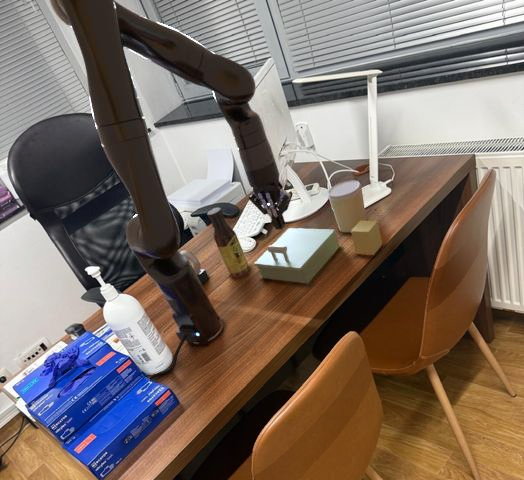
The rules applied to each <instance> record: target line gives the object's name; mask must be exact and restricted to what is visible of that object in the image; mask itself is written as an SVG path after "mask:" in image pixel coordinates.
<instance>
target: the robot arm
mask: <svg viewBox="0 0 524 480" xmlns="http://www.w3.org/2000/svg"><path fill="white" fill-rule="evenodd" d="M49 2H50V5H51V8H52V10H53V12H54V13H55V14H56V16H57V17H58V18H59V20H60V21H61V22H62V23H64V24H65V25H66V26H67V27H70V28H71V29H72V31H73V34H74V36H75V39H76V42H77V44H78V47H79V49H80V52H81V53H80V54H81V56H82V59H83V63H84V68H85V73H86V80H87V87H88V95H89V96H88V97H89V102H90V108H91V109H90V110H91V113H92V117H93V121H94V124H95V127H96V131H97V134H98V137H99V140H100V143H101V146H102V149H103V151H104V153H105V155H106V158H107V160H108V162H109V163H110V165H111V167H112V168H113V169H114V171H115V172H116V173H115V174H117V175H118V178H119V179H120V180H121V182H122V183H123V185H124V186H125V188H126V190H127V191H128V193H129V195H130V197H131V200H132V202H133V206H134V208H135V213H136V214H135V215H134V216H133V217H131V218H130V219H129V221H128V223H127V225H126V230H125V235H126V240H127V243H128V246H129V248H130V249H131V251H132V253H133V255H134V256H135V257H136V259H137V260H138V262H139V264H140V266H141V267H142V268H143V270H144V271H145V273H146V274H147V275H148V276H149V278H150V279H151V280H152V281H153V282H154V283H155V284H156V286H157V287H158V289H159V291H160V292H161V294H162V296H164V299H165V301H166V303H167V304H168V306H169V308H170V309H171V311H172V314H171V318H172V319H173V321H174V322H175V324H176V326H177V327H178V329H177V330H176V331H175V335H176V336H177V338H178V339H179V341H180V342H179V344H178V345H177V348H176V350H175V351H174V354H173V360H172V364H171V366H170V367H168V368H166V369H164V370H162V371H158V372H159V373H157V372H156V373H157V374H154V373H152V374H153V375H152V374H151V375H150V376H149V377H148V378H149V379H150V380H151V381H152V380H153V379H154V378H155V377H158V376H163V375H165V374H168V373H170V372H171V371H173V370H174V369H175V367H176V364H177V361H178V360H177V359H178V355H179V353H180V351H181V349H182V347H183V345H184V344H185V342H187V344H189V345H199V346H200V345H201V346H207V345H208V344H209V343H210V342H212V341H213V340H215V339H216V338H218V337H219V336H220V334H221V333H222V331H223V328H224V324H223V321H222V319H221V317H220V316H219V314H218V312H217V311H216V309H215V307H214V305H213V303H212V301H211V300H210V298H209V296H208V293H207V291H206V290H205V288H204V286H203V285H202V284H201V282H200V280H199V278H198V276H197V274H196V273H195V271H194V267H193V264H192V262H191V260H189V259H187V258H186V257H184V256H183V255H182V254H181V253H180V252H181V251H179V249H180V245H181V233H180V232H181V231H180V227H179V224H178V221H177V219H176V217H175V214H174V212H173V209H172V207H171V204H170V202H169V198H168V195H167V193H166V190H165V187H164V185H163V181H162V177H161V173H160V170H159V168H158V167H159V166H158V163H157V160H156V156H155V153H154V150H153V146H152V145H153V144H152V141H151V137H150V133H149V130H148V129H149V128H148V126H147V122H146V119H145V115H144V113H143V109H142V106H141V103H140V99H139V96H138V92H137V89H136V86H135V82H134V80H133V76H132V73H131V70H130V67H129V64H128V61H127V57H126V53H125V50H124V49H126V50H129V51H130V52H132V53H135V54H137V55H138V56H141V57H142V58H144V59H146V60H148V61H150V62H152V63H154V64H155V65H157V66H159V67H161V68H162V69H165V70H166V71H168V72H170V73H171V74H173V75H175V76H177V77H179V78H180V79H182V80H184V81H185V82H187V83H190V84H191V85H193V86H196V87H201V88H205V89H208V90H210V91H211V92H212V93H213V97H214V100H215V102H216V104H217V106H218V108H219V110H220V113H221V114H222V116H223V117H224V119H225V121H226V123H227V124H228V126H229V127H230V130H231V132H232V136H233V139H234V141H235V142H234V143H235V145H236V147H237V150H238V154H239V159H240V162H241V164H242V167H243V170H244V173H245V175H246V178H247V182H248V185H249V186H250V188H252V194H251V195H250V196H248V200H249V201H250V202H251V204H253V206H255V207H256V208H257V209H258V210H259V211H260V212H261V213H262V214H263V215H264V216H265V215H268V216H269V217H270V219H271V222H272V224H273V226H274V228H275V230H283V229H284V228H285V226H286V221H285V218H284V213H285V212H287V211H288V209H289V206H290V204H291V201H292V198H293V195H294V193H293V192H292V191H291V190H289V191H287V190H285V189H284V187H283V185H282V183H281V181H280V171H279V169H278V165H277V162H276V159H275V156H274V152H273V149H272V146H271V143H270V142H269V140H268V137H267V136H268V135H267V134H266V130H265V127H264V124H263V121H262V118H261V117H260V115H259V114H258V113H257V112H256V111H254V110H253V109H252V107H251V106H250V104H249V102H250V101H252V100H253V98H254V96H255V93H256V87H257V86H256V81H255V78H254V76H253V74H252V72H250V70H248V69H247V68H246V67H245V66H243V65H242V64H240V63H239V62H236V61H234V60H232V59H231V58H228V57H225V56H223V55H221V54H218V53H216V52H213V51H212V50H210V49H209V48H207V47H206V46H204V45H202V44H201V43H199V42H198V41H196V40H194V39H193V38H191V37H190V36H188V35H186V34H185V33H183V32H181V31H179V30H178V29H176V28H173V27H171V26H168V25H166V24H163V23H160V22H158V21H155V20H153V19H149V18H146V17H144V16H142V15H140V14H138V13H136V12H134V11H132V10H130V9H128V8H127V7H125V6H123V5H122V4H121V3H119V2H118V1H116V0H49Z"/></svg>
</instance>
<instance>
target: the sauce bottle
mask: <svg viewBox="0 0 524 480" xmlns="http://www.w3.org/2000/svg"><path fill="white" fill-rule="evenodd" d="M207 217H208V219H209V221H210V222H211V224H212V227H213V230H214V231H213V239H214V241H215V244H216V247H217V249H218V251H219V254H220V256H221V258H222V260H223V263H224V265H225V268H226V269H227V272H228V273H229V275H230V276H231V277H232V278H233V277H234V278H238V277H241V276H243V275H245V274H246V273H247V272H248V271H249V269H250V266H249V261H248V260H247V258H246V255H245V252H244V250H243V247H242V245H241V242H240V240H239V238H238V235H237V233H236V231H235V230H234V229H233V228H232V227H231V225H229V224H228V222H227V220H226V219H225V216H224V213H223V209H222V208H221V207H214V208H212V209H210V210H209V211H208V212H207Z"/></svg>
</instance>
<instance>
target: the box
mask: <svg viewBox="0 0 524 480" xmlns="http://www.w3.org/2000/svg"><path fill="white" fill-rule="evenodd" d="M339 249H340V243H339V239H338V235H337V231H336V232H335V234H334V235H333V236H332V237H331V238H330V239H329V240H328V241H327V242H326V244H325V245H324V246H323V247H322V248H321V249H320V250H319V251H318V252H317V254H316V255H315V256H314V257H313V258H312V259H311V260H310V261H309V262H308V264H307V265H306V266H305V267H304V268H303V269H302V270H301V271H299V270H290V269H280V268H271V267H261V266H257V268H258V270H259V274H260V276H261V278H262V279H268V280H278V281H284V282H291V283H293V282H294V283H300V284H309V283H310V282H311V281H312V279H313V278H314V277H315V276H316V275H317V274H318V273H319V272H320V270H321V269H322V268H323V267H324V266H325V265H326V263H328V261H329V260H330V259H331V258H332V256H333V255H334V254H335V253H336V252H337V251H338V250H339Z"/></svg>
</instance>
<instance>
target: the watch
mask: <svg viewBox="0 0 524 480" xmlns="http://www.w3.org/2000/svg"><path fill="white" fill-rule="evenodd" d="M179 252H180V253H181V254H182V255H183V256H184V257H186V258H187V259H188V260H189V261H190V262H191V264H192V267H193V269H194V271H195V273H196V274H197V276H198V278H199V280H200V282H201V284H202V286H203V285H204V284H205V283H206V282H207V281H208V280H209V279H210V277H209V275H208V273H207V271H206V269H202V267H201V262H200V260H199V258H198V257H197V256H196V255H195V254H194V253H193V252H192V251H190V250H187V249H184V250H181V251H179Z"/></svg>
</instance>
